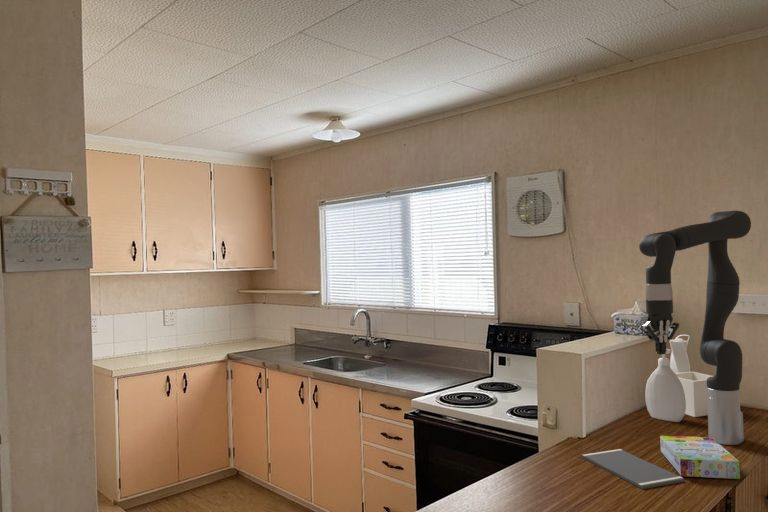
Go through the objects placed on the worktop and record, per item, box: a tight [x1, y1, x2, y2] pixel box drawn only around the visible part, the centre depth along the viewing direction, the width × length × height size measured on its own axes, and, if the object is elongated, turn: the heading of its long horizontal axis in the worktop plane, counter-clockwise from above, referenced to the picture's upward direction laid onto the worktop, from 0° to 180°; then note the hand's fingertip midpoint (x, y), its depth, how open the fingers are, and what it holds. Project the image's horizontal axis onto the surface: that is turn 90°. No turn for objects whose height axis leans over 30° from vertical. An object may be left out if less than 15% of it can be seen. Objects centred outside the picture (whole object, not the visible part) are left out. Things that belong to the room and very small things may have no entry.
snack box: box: [659, 435, 741, 480], centre depth 166 cm, size 21×6×15 cm
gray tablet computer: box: [580, 448, 686, 490], centre depth 165 cm, size 14×26×1 cm, turn 17°
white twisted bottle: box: [669, 334, 691, 373], centre depth 233 cm, size 8×8×28 cm
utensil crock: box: [675, 371, 714, 418], centre depth 219 cm, size 14×14×14 cm
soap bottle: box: [644, 348, 686, 423], centre depth 211 cm, size 14×8×27 cm, turn 39°
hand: (661, 354), depth 176 cm, fingers closed
